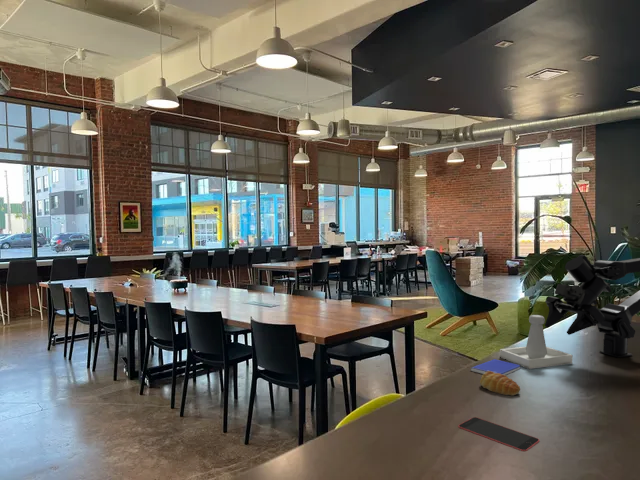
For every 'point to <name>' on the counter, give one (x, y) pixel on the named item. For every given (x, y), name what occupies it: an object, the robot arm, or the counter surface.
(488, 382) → the pastry
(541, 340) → the salt shaker
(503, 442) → the smartphone
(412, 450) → the counter surface
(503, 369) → the hard drive
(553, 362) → the tray
